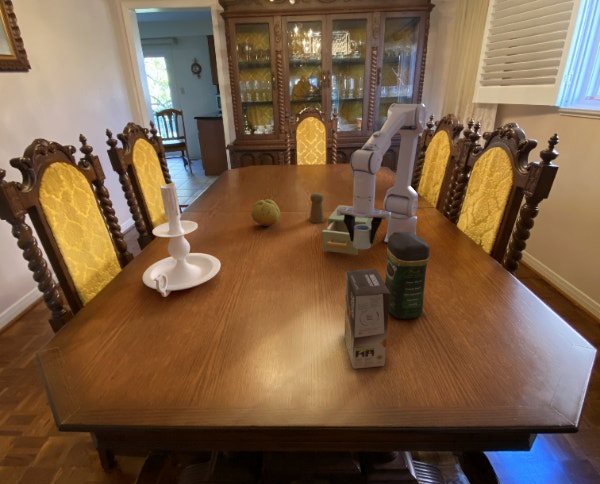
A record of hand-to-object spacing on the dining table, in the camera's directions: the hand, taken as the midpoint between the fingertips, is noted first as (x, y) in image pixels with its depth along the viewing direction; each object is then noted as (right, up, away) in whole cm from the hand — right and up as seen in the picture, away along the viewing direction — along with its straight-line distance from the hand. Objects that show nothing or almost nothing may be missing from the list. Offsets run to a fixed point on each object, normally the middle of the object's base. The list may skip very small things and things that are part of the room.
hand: (362, 241), depth 98 cm
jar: (0, -1, +1) cm, 1 cm away
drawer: (-4, -2, +14) cm, 15 cm away
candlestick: (-50, -12, -3) cm, 52 cm away
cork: (-11, +6, +39) cm, 41 cm away
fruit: (-31, +4, +36) cm, 47 cm away
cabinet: (0, +1, +25) cm, 25 cm away
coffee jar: (+7, -15, -16) cm, 23 cm away
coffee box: (-5, -21, -29) cm, 36 cm away
